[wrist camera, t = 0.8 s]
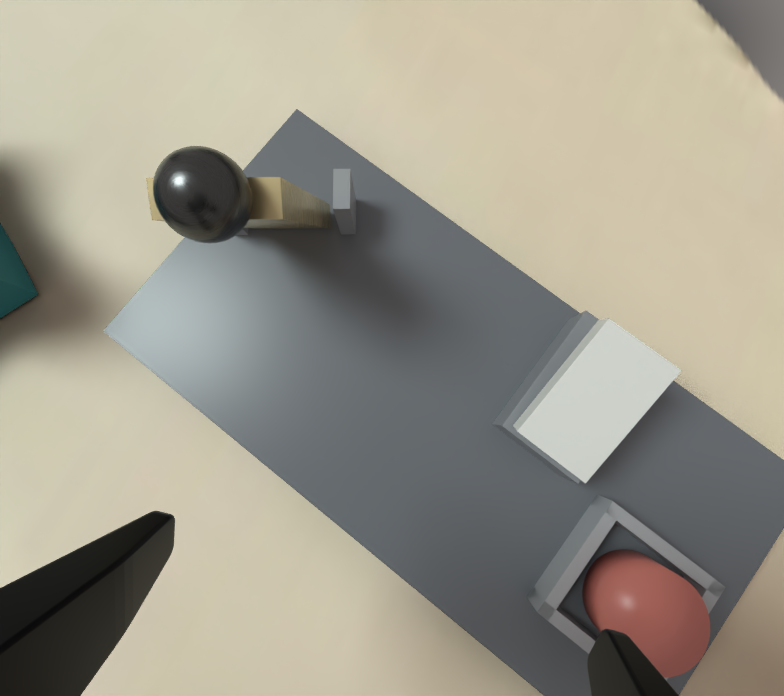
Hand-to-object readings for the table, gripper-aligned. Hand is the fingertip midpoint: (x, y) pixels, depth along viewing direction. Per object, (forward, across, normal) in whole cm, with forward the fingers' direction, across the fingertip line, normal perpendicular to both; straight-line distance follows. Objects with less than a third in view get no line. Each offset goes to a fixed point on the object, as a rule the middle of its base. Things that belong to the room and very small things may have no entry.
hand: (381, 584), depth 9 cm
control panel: (+14, -2, +3) cm, 15 cm away
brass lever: (+17, +8, -5) cm, 19 cm away
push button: (+9, -12, +7) cm, 16 cm away
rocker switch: (+12, -8, -1) cm, 14 cm away
